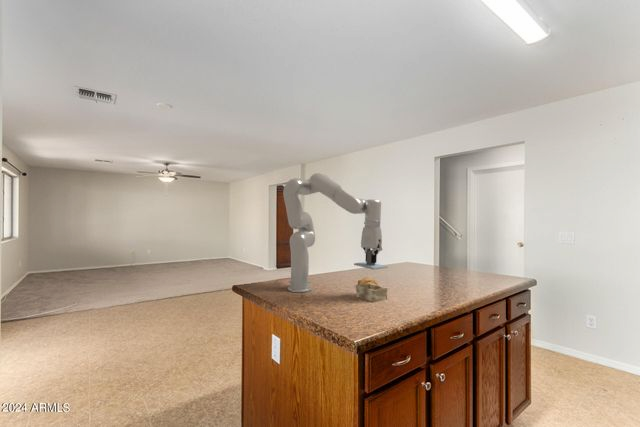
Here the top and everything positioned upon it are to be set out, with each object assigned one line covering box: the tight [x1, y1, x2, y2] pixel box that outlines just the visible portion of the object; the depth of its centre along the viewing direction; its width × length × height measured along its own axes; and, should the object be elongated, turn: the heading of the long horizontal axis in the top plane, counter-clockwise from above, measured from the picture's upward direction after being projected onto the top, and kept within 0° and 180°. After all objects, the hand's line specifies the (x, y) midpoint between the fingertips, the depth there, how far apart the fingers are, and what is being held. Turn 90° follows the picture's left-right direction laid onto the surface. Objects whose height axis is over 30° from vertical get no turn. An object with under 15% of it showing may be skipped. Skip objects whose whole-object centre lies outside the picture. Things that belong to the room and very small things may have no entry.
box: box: [355, 283, 388, 303], centre depth 157 cm, size 12×9×6 cm
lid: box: [353, 249, 389, 270], centre depth 157 cm, size 13×10×8 cm
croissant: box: [357, 276, 379, 286], centre depth 175 cm, size 21×10×8 cm, turn 21°
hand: (370, 261), depth 157 cm, fingers closed on lid, 3 cm apart
